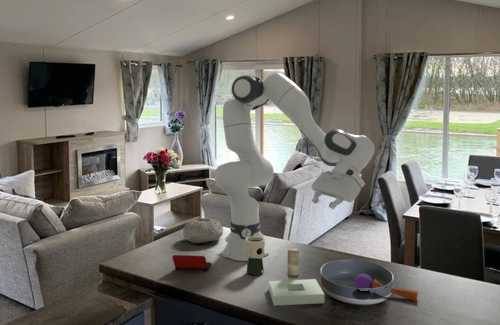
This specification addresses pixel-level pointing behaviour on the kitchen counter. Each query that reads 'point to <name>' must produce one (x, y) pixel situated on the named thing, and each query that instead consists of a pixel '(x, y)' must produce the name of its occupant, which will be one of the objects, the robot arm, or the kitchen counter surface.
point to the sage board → (296, 292)
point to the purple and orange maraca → (367, 282)
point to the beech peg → (293, 264)
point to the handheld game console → (190, 263)
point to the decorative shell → (202, 230)
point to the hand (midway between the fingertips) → (322, 204)
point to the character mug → (255, 254)
